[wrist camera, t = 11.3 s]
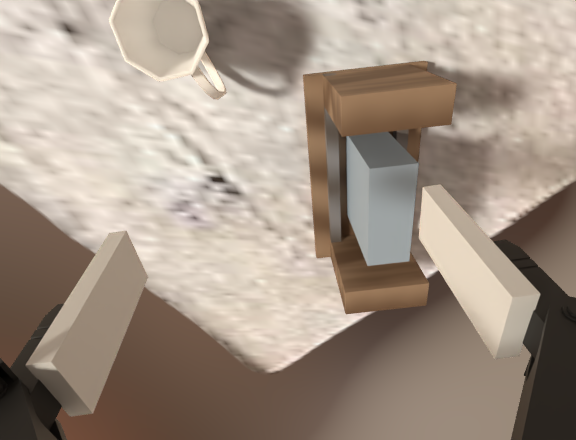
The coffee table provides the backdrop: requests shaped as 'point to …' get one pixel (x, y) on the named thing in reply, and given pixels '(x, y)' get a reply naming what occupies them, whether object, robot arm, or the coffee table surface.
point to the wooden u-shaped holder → (332, 167)
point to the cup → (165, 40)
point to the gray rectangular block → (381, 196)
